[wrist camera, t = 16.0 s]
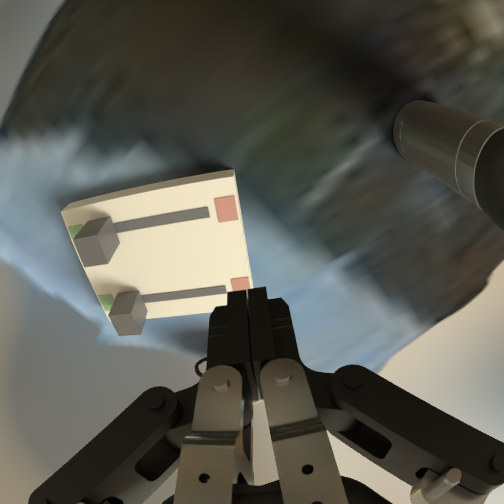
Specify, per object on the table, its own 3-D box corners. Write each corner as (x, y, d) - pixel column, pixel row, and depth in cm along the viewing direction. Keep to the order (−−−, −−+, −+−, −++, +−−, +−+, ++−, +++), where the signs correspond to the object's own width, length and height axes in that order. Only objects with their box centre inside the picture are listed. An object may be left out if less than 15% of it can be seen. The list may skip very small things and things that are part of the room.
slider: (138, 290, 43) (130, 313, 39) (147, 310, 45) (141, 334, 41) (117, 292, 43) (108, 315, 39) (126, 312, 46) (119, 335, 41)
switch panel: (233, 169, 39) (233, 176, 36) (254, 293, 49) (255, 307, 46) (69, 203, 39) (60, 212, 36) (114, 309, 50) (109, 322, 47)
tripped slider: (110, 216, 37) (96, 234, 33) (120, 242, 39) (108, 263, 35) (87, 220, 37) (72, 239, 33) (97, 246, 39) (84, 267, 35)
